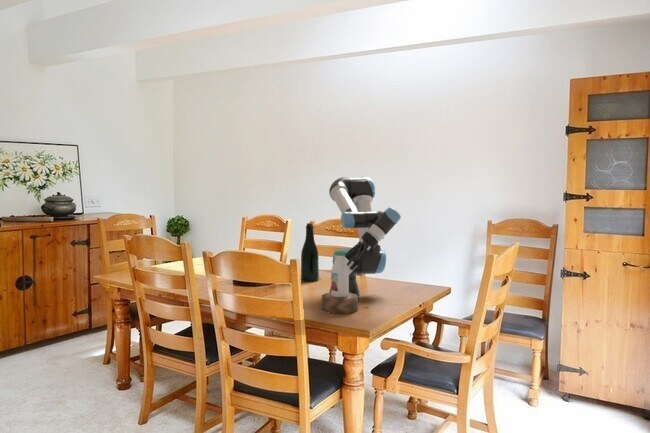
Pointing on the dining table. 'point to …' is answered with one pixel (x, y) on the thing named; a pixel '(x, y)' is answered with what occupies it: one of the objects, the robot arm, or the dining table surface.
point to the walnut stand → (340, 303)
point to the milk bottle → (339, 276)
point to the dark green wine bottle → (309, 257)
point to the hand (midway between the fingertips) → (340, 271)
